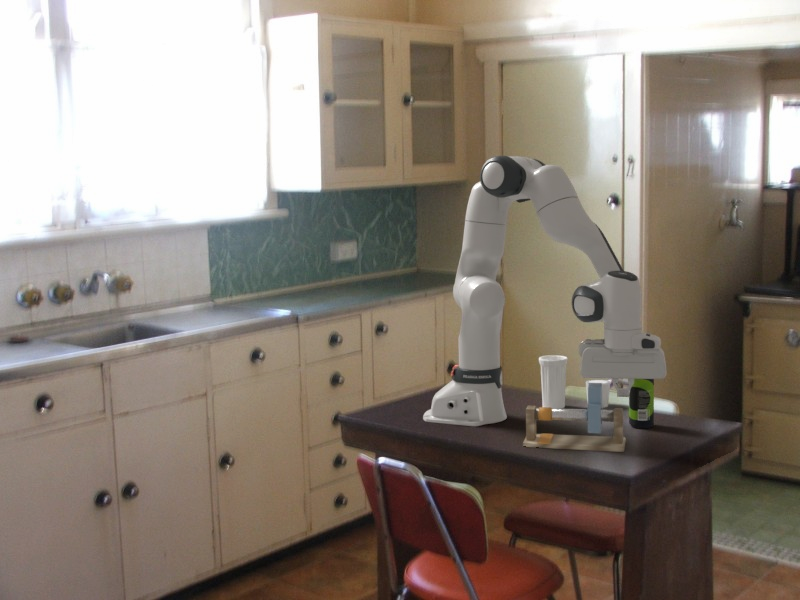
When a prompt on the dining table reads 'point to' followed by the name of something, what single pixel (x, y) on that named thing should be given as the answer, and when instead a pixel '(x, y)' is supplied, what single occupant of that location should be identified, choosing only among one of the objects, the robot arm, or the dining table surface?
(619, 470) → the dining table surface
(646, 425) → the beverage can
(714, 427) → the dining table surface
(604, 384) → the small white cup
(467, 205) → the robot arm
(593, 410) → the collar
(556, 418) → the pipe stand
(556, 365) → the cup
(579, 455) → the dining table surface
